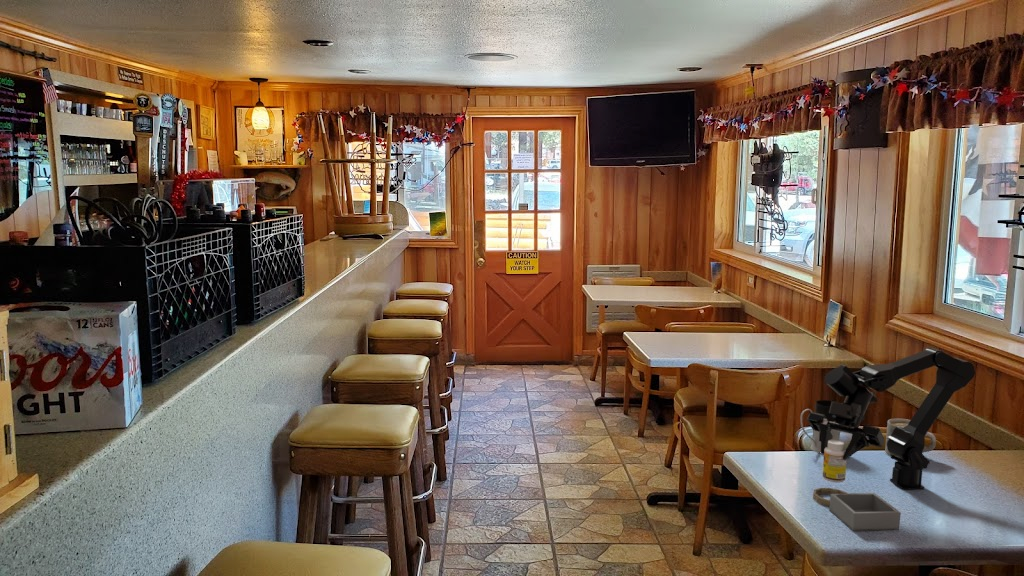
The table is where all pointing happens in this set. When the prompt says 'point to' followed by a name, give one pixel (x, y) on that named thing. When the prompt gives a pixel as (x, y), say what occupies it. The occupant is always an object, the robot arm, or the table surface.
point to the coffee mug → (902, 423)
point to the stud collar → (825, 491)
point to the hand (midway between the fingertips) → (832, 456)
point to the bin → (864, 512)
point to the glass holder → (824, 408)
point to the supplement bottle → (834, 462)
